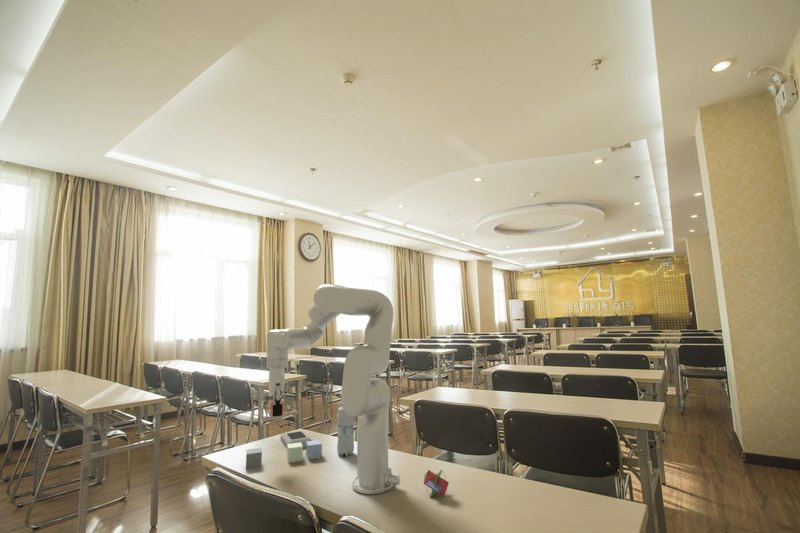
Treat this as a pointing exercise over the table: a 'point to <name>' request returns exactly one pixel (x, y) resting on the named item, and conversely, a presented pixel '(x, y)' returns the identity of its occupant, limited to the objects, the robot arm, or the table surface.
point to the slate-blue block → (313, 449)
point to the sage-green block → (294, 452)
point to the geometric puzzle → (435, 482)
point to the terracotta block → (272, 408)
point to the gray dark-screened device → (295, 438)
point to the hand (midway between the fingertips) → (276, 413)
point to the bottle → (345, 432)
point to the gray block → (253, 458)
